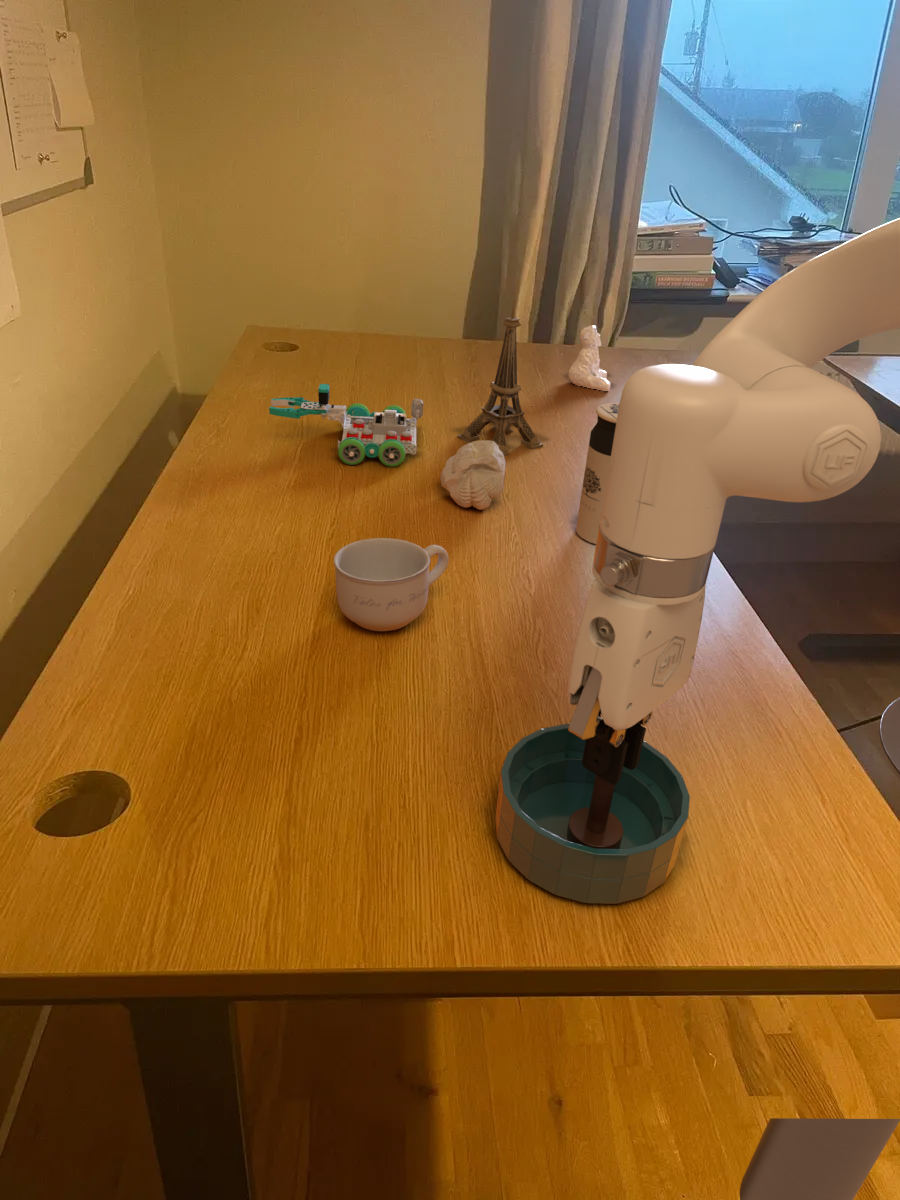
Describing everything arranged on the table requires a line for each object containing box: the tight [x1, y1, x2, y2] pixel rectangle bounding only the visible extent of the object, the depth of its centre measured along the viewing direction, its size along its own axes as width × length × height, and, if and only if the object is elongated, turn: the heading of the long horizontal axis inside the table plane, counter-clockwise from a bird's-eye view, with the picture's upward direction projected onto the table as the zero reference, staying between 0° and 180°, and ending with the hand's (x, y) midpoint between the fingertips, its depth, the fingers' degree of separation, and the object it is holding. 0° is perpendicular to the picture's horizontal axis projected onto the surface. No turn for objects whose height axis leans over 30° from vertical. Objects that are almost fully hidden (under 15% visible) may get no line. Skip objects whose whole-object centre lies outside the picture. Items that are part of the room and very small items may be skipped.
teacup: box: [333, 537, 449, 632], centre depth 101 cm, size 14×11×8 cm
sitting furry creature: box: [567, 324, 612, 392], centre depth 181 cm, size 10×9×12 cm
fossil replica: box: [439, 439, 507, 511], centre depth 130 cm, size 12×8×10 cm
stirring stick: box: [567, 729, 627, 849], centre depth 69 cm, size 4×4×14 cm
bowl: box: [494, 723, 691, 905], centre depth 74 cm, size 15×15×6 cm
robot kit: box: [268, 383, 424, 468], centre depth 145 cm, size 19×25×9 cm
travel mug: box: [575, 402, 620, 545], centre depth 120 cm, size 8×8×18 cm
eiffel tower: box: [456, 294, 544, 457], centre depth 147 cm, size 11×11×25 cm
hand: (609, 765), depth 68 cm, fingers closed on stirring stick
